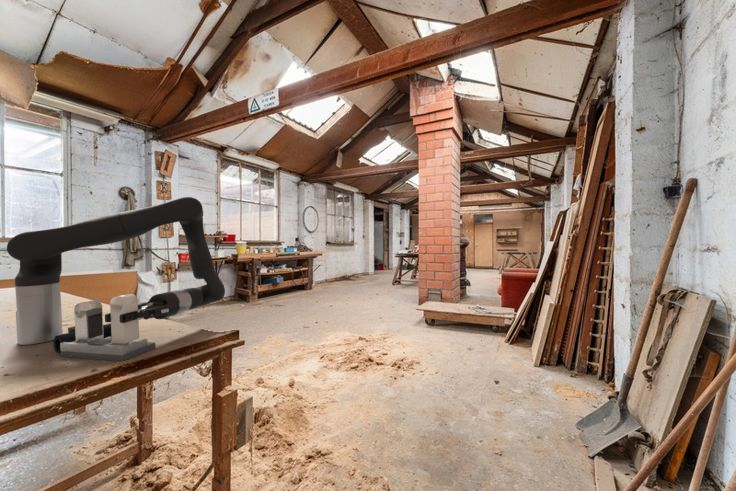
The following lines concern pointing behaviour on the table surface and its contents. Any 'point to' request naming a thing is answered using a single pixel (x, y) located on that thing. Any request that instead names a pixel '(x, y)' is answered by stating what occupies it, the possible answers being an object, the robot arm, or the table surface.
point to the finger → (129, 329)
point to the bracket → (98, 337)
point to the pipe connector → (72, 337)
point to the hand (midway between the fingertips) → (113, 318)
